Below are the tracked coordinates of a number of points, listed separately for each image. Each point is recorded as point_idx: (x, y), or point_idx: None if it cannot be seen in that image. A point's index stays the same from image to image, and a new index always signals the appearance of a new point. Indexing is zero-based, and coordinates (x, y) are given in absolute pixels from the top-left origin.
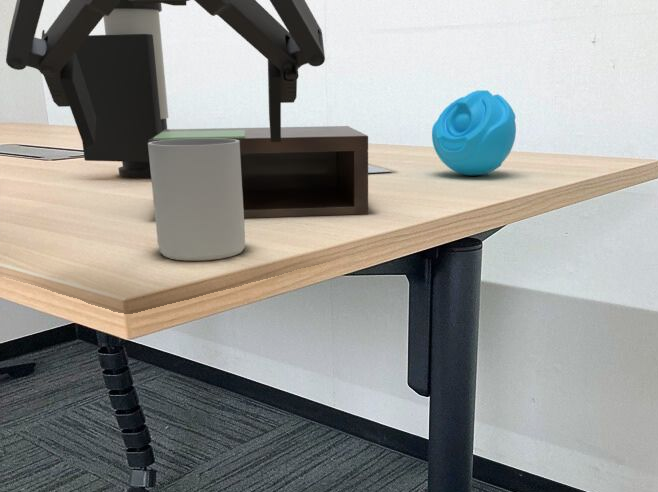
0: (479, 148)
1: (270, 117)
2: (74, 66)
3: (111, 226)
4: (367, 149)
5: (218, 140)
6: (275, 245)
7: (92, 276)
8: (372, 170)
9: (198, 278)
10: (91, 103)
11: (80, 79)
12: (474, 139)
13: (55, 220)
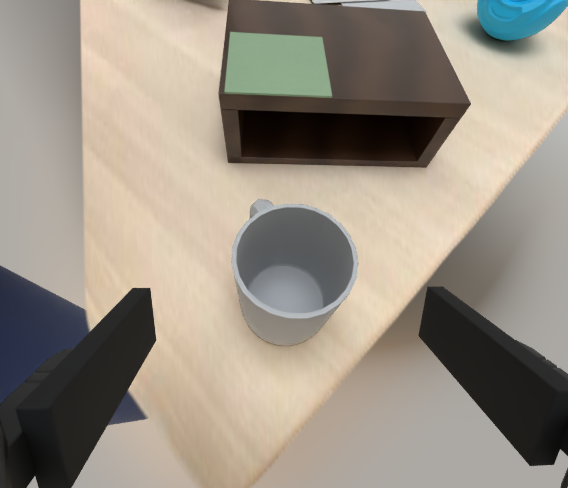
0: (527, 23)
1: (450, 372)
2: (67, 435)
3: (186, 176)
4: (461, 116)
5: (321, 215)
6: None
7: (178, 398)
8: (407, 6)
9: (290, 425)
10: (136, 306)
11: (97, 378)
12: (529, 13)
13: (130, 143)
